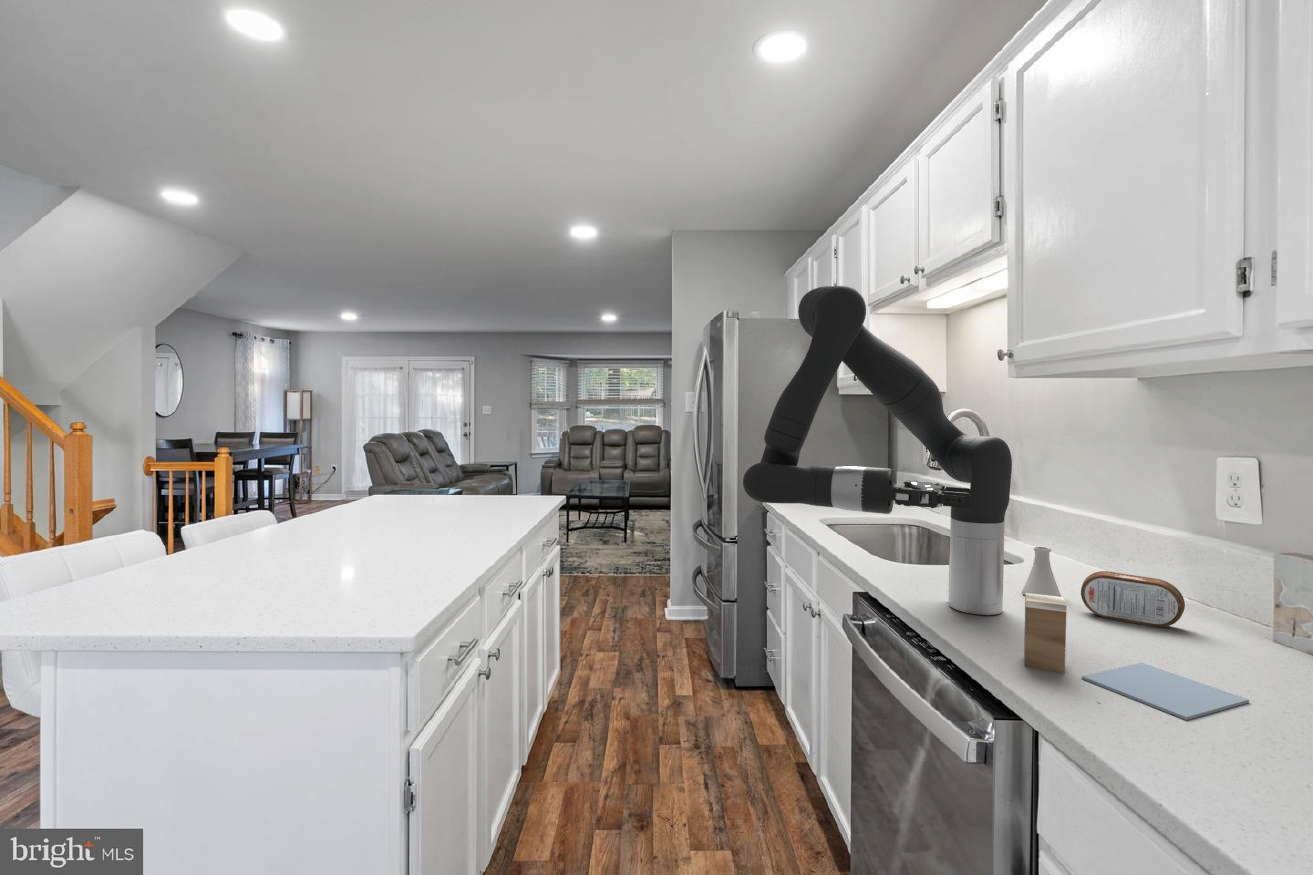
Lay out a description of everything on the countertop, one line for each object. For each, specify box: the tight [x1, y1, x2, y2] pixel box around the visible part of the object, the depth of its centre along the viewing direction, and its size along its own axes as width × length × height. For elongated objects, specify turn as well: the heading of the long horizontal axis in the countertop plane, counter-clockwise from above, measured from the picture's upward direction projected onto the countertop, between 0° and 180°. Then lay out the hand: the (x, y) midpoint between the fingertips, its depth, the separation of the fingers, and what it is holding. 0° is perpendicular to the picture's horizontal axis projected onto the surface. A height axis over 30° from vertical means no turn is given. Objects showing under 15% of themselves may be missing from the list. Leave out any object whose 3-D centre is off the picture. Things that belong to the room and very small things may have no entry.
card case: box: [1023, 593, 1067, 674], centre depth 94 cm, size 4×5×10 cm
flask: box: [1021, 545, 1062, 597], centre depth 130 cm, size 7×7×10 cm
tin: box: [1080, 570, 1186, 628], centre depth 114 cm, size 15×3×8 cm, turn 48°
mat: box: [1081, 662, 1250, 721], centre depth 86 cm, size 13×13×1 cm
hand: (970, 497), depth 99 cm, fingers open, 8 cm apart
